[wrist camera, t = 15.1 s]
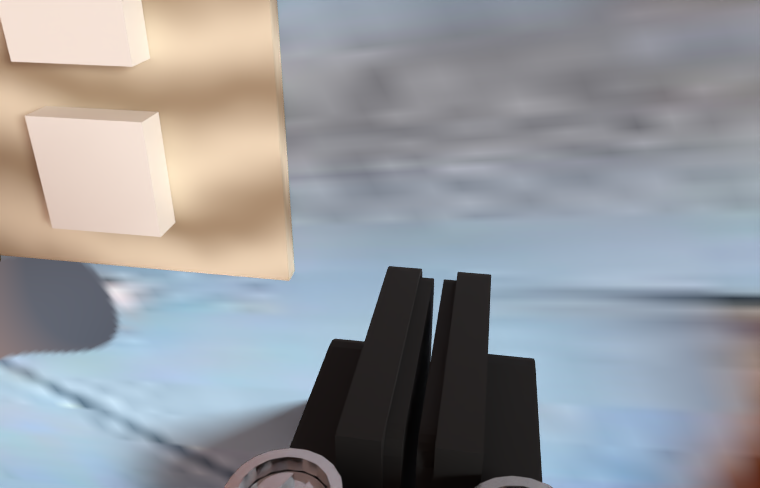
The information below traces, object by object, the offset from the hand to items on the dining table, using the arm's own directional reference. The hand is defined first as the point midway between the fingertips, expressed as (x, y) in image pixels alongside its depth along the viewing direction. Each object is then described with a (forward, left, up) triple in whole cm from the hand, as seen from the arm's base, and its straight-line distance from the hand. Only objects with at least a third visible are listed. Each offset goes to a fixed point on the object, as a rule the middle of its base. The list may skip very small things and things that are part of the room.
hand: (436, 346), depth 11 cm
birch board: (+3, -21, -27) cm, 34 cm away
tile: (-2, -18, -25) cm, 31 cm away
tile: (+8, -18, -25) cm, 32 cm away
